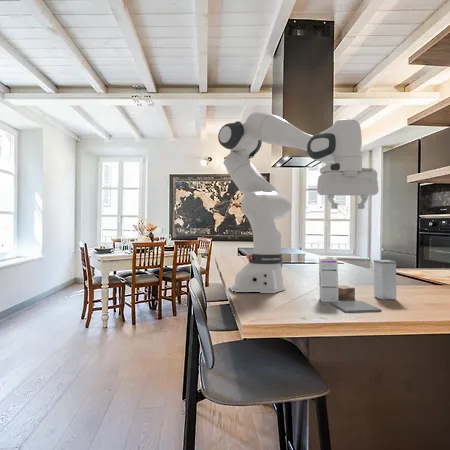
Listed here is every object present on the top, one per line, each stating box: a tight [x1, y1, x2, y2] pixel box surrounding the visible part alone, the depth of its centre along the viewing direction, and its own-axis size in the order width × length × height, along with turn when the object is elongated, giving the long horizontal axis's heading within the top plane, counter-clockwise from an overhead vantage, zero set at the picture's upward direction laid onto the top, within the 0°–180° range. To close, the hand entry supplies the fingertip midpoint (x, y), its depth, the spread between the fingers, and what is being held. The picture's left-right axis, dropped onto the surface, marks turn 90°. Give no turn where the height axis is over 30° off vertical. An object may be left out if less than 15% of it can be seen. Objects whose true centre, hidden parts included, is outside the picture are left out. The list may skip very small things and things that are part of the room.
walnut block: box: [338, 284, 356, 301], centre depth 114 cm, size 5×5×4 cm
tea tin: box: [373, 259, 397, 301], centre depth 113 cm, size 5×5×13 cm
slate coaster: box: [329, 300, 382, 314], centre depth 100 cm, size 11×11×1 cm
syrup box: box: [318, 256, 339, 303], centre depth 110 cm, size 6×6×14 cm
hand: (347, 208), depth 109 cm, fingers open, 8 cm apart
